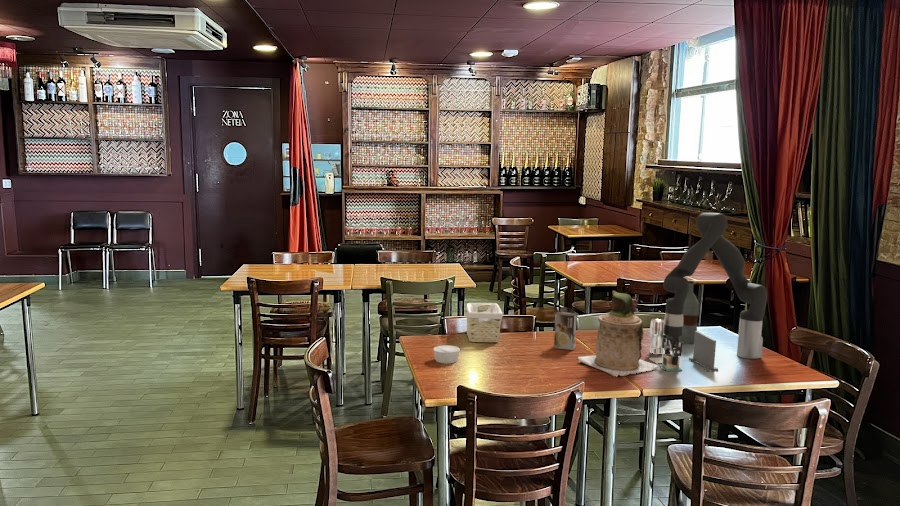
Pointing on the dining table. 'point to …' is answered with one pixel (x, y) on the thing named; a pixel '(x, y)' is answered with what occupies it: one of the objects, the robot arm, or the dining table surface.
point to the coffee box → (565, 330)
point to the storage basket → (483, 322)
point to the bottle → (690, 316)
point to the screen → (704, 351)
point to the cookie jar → (619, 340)
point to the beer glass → (656, 336)
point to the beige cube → (669, 362)
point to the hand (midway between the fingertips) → (670, 362)
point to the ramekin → (446, 354)
